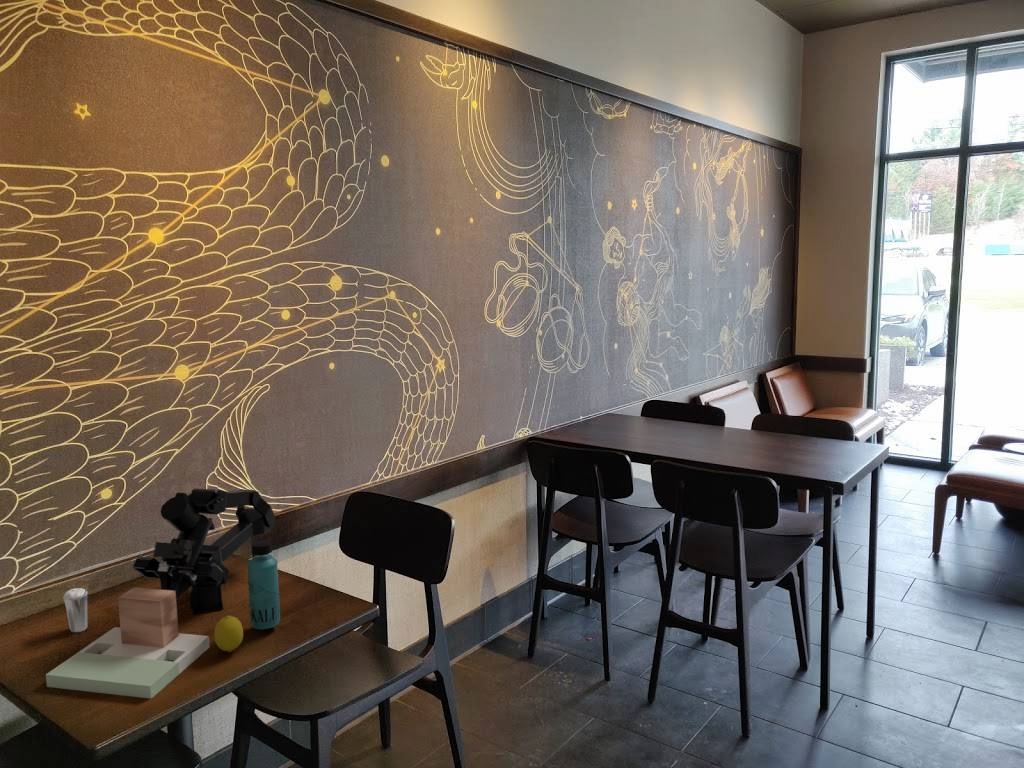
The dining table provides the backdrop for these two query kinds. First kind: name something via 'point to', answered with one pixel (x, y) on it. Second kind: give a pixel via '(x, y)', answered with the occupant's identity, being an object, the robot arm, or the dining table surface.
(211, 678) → the dining table surface
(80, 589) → the milkshake
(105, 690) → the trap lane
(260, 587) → the beverage bottle
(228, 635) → the lemon
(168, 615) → the terracotta block
